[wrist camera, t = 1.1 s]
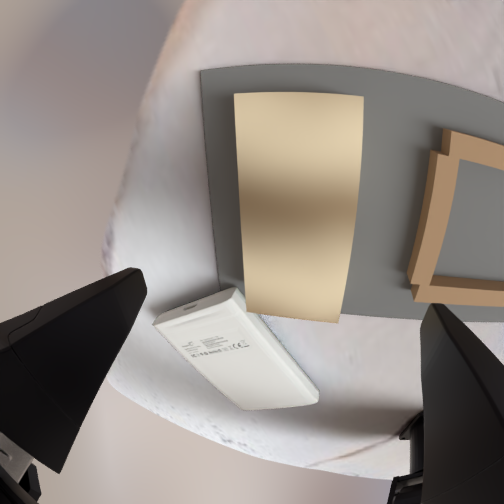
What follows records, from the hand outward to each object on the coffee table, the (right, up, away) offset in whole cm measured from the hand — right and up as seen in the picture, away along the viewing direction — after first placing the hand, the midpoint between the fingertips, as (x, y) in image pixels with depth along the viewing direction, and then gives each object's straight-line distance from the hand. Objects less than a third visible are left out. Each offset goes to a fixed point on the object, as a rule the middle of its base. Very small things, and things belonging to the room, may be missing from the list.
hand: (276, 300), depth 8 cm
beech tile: (+2, +4, +6) cm, 8 cm away
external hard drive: (-1, -7, +14) cm, 16 cm away
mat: (+11, +3, +4) cm, 12 cm away
